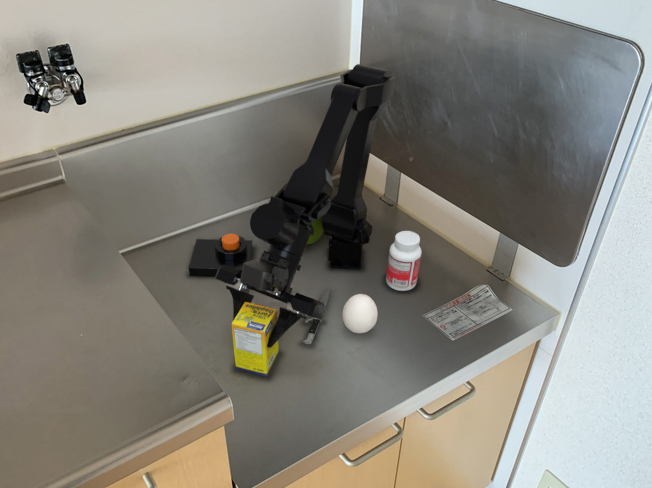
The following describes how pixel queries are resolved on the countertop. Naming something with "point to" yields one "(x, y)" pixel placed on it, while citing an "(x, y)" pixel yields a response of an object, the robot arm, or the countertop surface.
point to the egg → (360, 313)
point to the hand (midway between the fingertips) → (251, 339)
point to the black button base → (218, 256)
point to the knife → (316, 320)
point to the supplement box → (254, 338)
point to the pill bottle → (404, 261)
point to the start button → (230, 242)
